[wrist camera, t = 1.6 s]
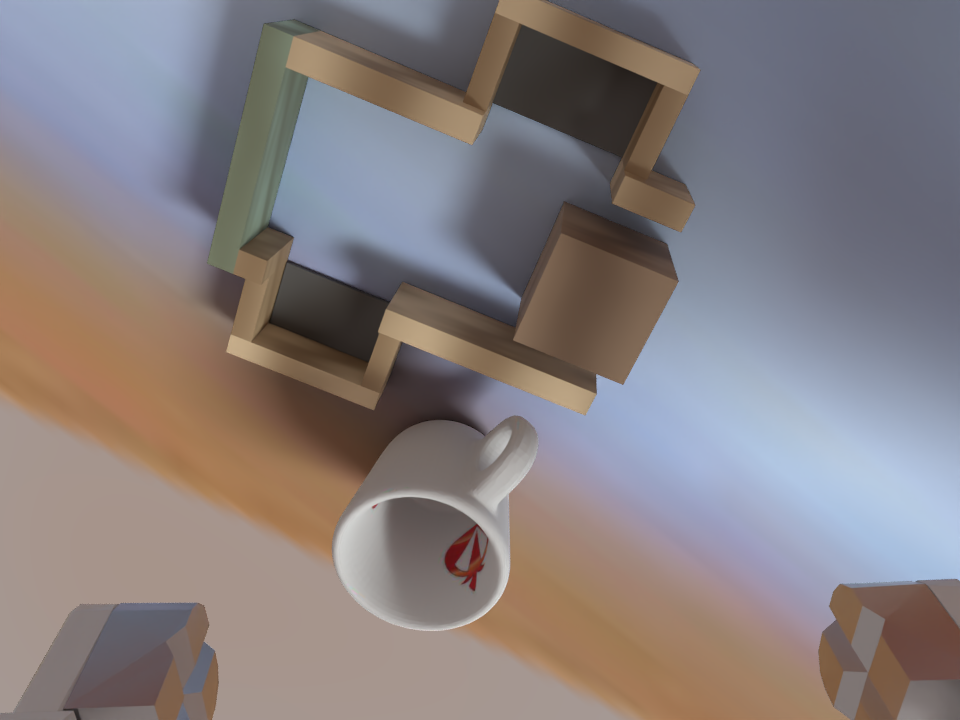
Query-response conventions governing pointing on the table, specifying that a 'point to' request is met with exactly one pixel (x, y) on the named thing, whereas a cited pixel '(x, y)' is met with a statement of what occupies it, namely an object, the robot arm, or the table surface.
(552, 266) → the block
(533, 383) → the wooden flat frame
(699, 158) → the table surface
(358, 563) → the cup
